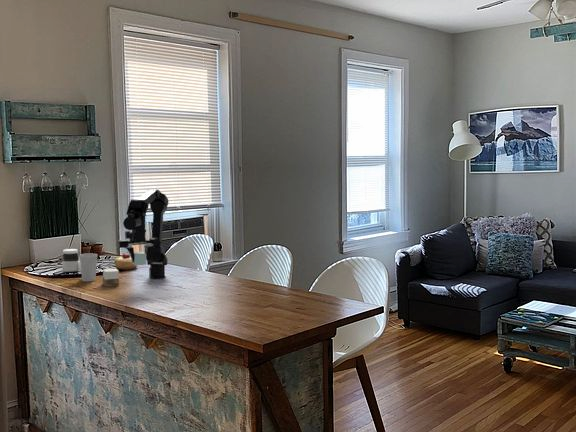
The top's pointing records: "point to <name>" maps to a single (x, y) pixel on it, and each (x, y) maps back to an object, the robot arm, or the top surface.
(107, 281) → the walnut slab
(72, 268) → the spread jar
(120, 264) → the pastry
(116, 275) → the cream slab
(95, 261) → the cup
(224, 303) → the top surface
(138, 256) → the painted cube
